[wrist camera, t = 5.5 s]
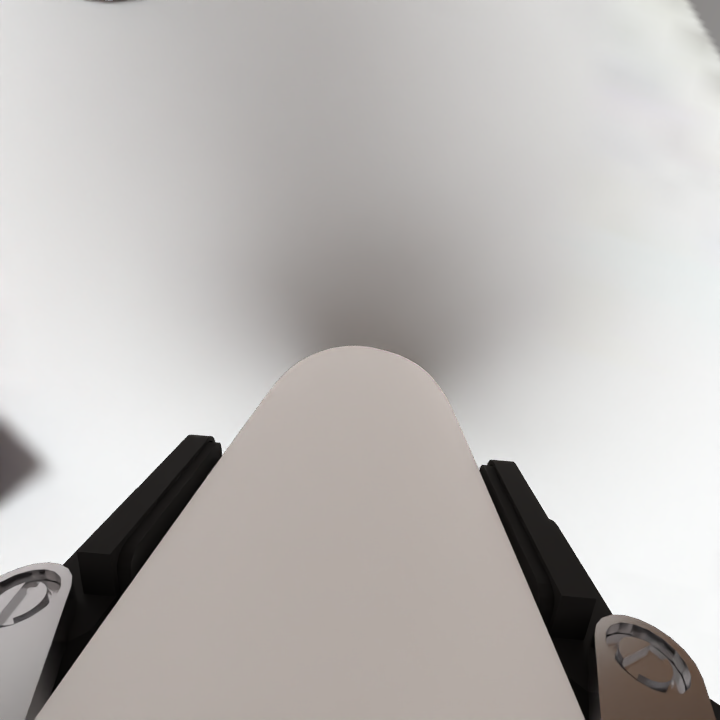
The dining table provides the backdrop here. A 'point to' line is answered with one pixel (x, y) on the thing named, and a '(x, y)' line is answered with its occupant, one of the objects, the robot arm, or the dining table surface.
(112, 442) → the dining table surface
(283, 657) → the can
